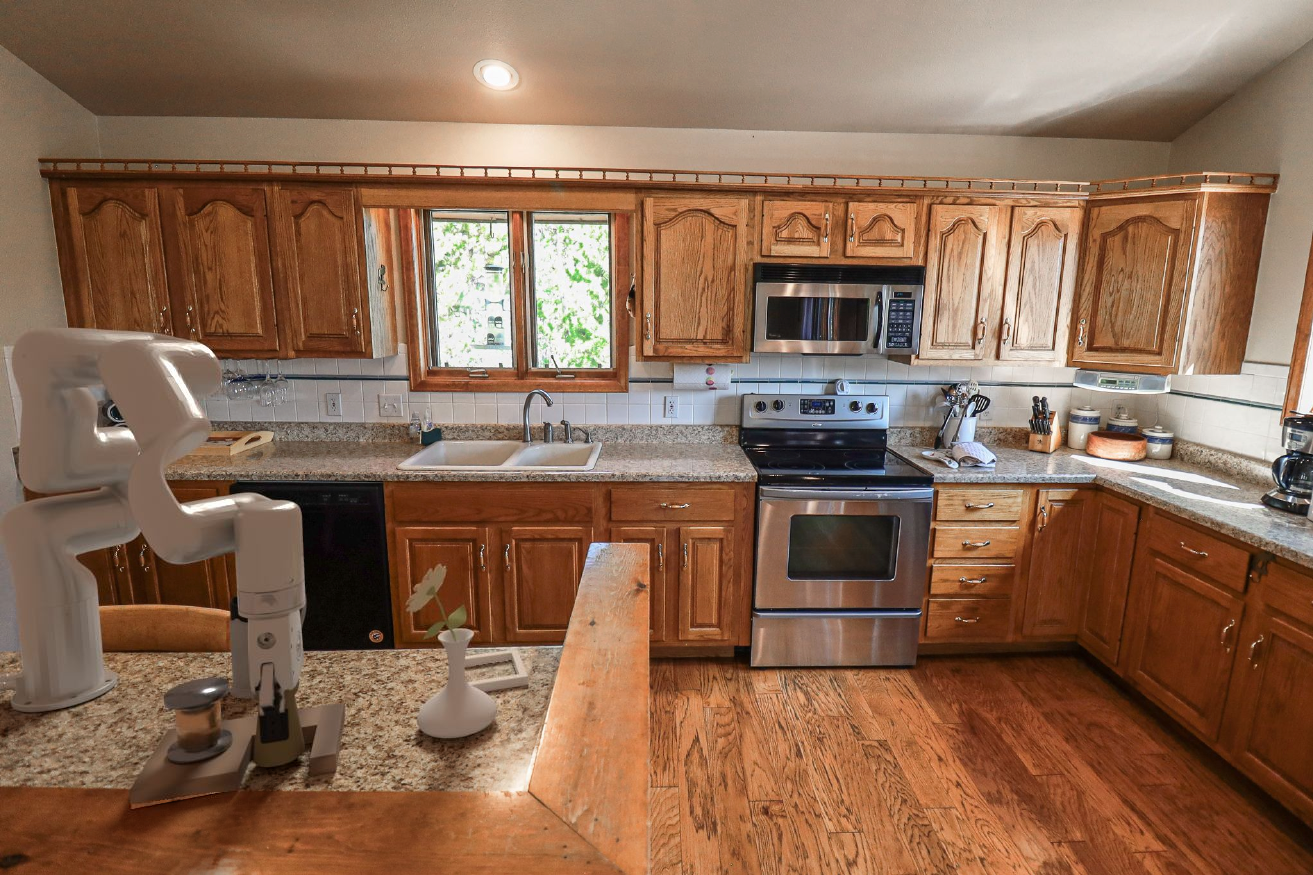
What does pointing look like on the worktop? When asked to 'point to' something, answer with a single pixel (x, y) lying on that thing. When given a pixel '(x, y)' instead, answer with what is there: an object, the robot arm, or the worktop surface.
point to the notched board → (236, 757)
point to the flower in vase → (451, 672)
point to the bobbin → (198, 720)
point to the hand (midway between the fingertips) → (278, 729)
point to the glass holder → (242, 651)
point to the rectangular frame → (499, 681)
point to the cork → (284, 749)
